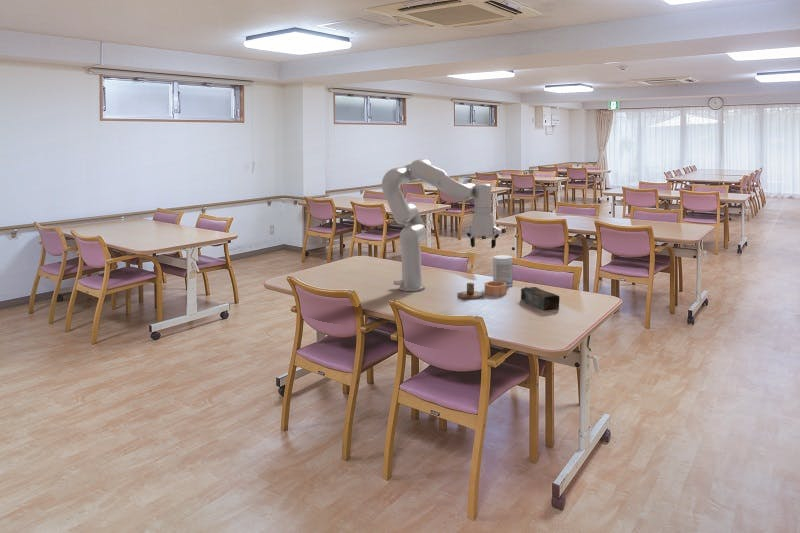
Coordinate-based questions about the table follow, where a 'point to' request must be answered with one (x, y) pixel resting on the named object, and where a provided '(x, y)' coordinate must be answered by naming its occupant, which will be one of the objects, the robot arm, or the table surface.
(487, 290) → the bowl
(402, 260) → the robot arm
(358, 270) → the table surface
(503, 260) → the supplement tub
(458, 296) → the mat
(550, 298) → the beverage carton
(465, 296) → the lid
